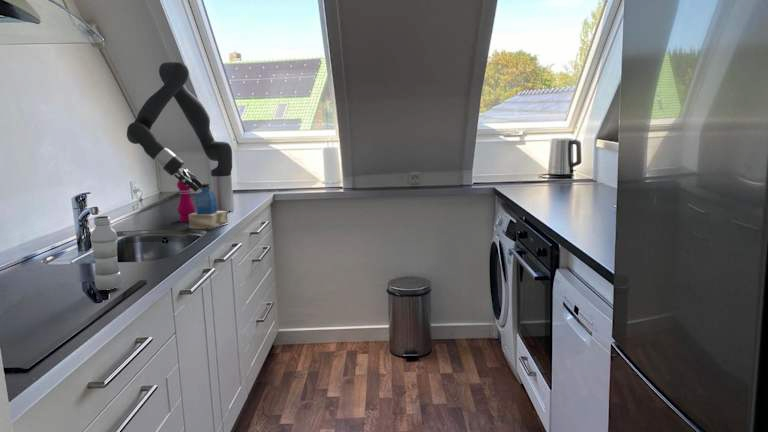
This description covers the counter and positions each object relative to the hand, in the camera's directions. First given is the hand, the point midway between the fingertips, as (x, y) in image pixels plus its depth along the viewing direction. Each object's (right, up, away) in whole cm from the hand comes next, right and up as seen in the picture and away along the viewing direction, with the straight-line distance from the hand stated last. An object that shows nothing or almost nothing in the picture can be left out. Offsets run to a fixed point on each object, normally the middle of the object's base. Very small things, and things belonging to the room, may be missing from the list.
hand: (199, 188), depth 231 cm
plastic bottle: (+2, -32, -80) cm, 86 cm away
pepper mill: (-11, -13, +17) cm, 24 cm away
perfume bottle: (+2, -10, +2) cm, 11 cm away
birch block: (+3, -16, +3) cm, 16 cm away
